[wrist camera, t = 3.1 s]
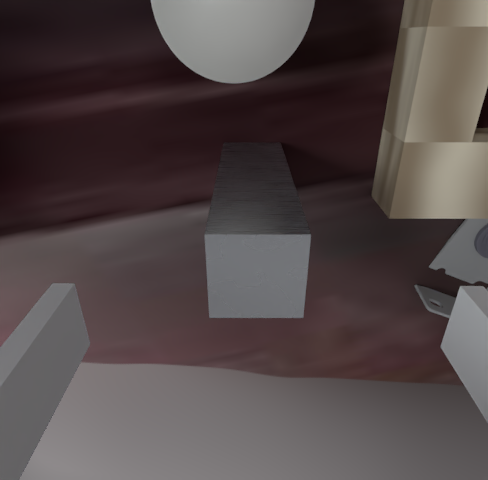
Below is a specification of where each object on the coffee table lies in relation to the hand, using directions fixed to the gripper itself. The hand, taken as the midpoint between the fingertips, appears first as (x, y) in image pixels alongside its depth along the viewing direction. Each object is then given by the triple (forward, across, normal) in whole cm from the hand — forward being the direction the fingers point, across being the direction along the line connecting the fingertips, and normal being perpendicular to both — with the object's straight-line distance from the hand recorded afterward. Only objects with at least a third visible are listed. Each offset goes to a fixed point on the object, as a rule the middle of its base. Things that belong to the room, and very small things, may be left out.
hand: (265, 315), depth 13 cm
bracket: (+17, +18, -7) cm, 26 cm away
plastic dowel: (+16, -1, +10) cm, 19 cm away
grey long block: (+16, 0, 0) cm, 16 cm away
